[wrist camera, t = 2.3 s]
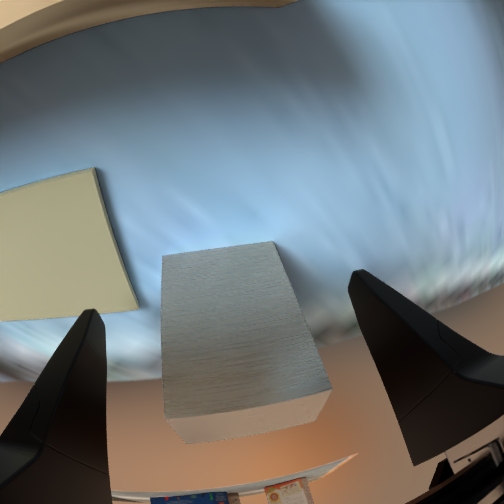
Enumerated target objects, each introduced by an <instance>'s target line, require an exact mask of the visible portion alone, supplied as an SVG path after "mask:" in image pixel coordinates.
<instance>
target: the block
mask: <svg viewBox="0 0 504 504" xmlns="http://www.w3.org/2000/svg"><path fill="white" fill-rule="evenodd" d="M161 359H162V382H163V400H164V415H165V420H166V421H167V422H168V424H169V425H170V426H171V427H172V428H173V429H174V431H175V432H176V433H177V434H178V435H179V436H180V438H181V439H182V440H183V441H184V442H185V443H186V444H192V443H202V442H211V441H218V440H225V439H233V438H239V437H245V436H251V435H256V434H262V433H267V432H271V431H276V430H281V429H285V428H289V427H293V426H298V425H302V424H306V423H309V422H313V421H315V420H316V419H317V417H318V415H319V413H320V412H321V410H322V408H323V406H324V405H325V403H326V401H327V399H328V397H329V395H330V393H331V392H332V386H331V384H330V381H329V378H328V376H327V374H326V371H325V368H324V366H323V363H322V361H321V358H320V356H319V353H318V350H317V348H316V345H315V343H314V340H313V338H312V335H311V333H310V330H309V328H308V325H307V323H306V320H305V318H304V315H303V313H302V311H301V308H300V306H299V303H298V301H297V298H296V296H295V293H294V291H293V289H292V286H291V284H290V281H289V279H288V277H287V274H286V272H285V269H284V267H283V264H282V262H281V260H280V257H279V255H278V253H277V250H276V248H275V245H274V243H273V241H268V242H260V243H253V244H245V245H238V246H230V247H223V248H215V249H208V250H200V251H193V252H186V253H179V254H171V255H164V256H162V278H161Z"/></svg>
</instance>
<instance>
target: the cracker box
mask: <svg viewBox="0 0 504 504" xmlns="http://www.w3.org/2000/svg"><path fill="white" fill-rule="evenodd" d="M264 489H265V493H266V496H267V500H268V503H269V504H314V502H313V499H312V496H311V493H310V490H309V486H308V483H307V480H306V477H304V478H298V479H295V480H291V481H288V482H285V483H281V484H277V485H273V486H269V487H265V488H264Z"/></svg>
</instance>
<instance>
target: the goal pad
mask: <svg viewBox="0 0 504 504" xmlns="http://www.w3.org/2000/svg"><path fill="white" fill-rule="evenodd" d="M92 308H94V309H96V310H97V311H98V313H99V314H102V313H112V312H121V311H130V310H139V303H138V300H137V298H136V295H135V293H134V290H133V288H132V285H131V282H130V280H129V277H128V274H127V272H126V269H125V266H124V263H123V261H122V258H121V255H120V252H119V249H118V246H117V243H116V240H115V237H114V234H113V231H112V228H111V225H110V221H109V218H108V215H107V211H106V208H105V205H104V201H103V198H102V194H101V190H100V187H99V183H98V179H97V175H96V171H95V167H93V168H89V169H84V170H80V171H76V172H72V173H67V174H63V175H59V176H56V177H52V178H48V179H44V180H41V181H37V182H34V183H30V184H27V185H23V186H20V187H17V188H14V189H11V190H7V191H4V192H1V193H0V321H14V320H30V319H44V318H57V317H70V316H80V315H81V313H82V312H83V311H84V310H85V309H92Z"/></svg>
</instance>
